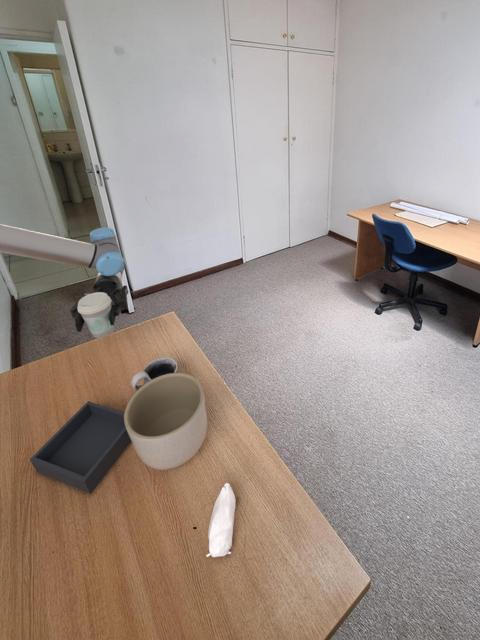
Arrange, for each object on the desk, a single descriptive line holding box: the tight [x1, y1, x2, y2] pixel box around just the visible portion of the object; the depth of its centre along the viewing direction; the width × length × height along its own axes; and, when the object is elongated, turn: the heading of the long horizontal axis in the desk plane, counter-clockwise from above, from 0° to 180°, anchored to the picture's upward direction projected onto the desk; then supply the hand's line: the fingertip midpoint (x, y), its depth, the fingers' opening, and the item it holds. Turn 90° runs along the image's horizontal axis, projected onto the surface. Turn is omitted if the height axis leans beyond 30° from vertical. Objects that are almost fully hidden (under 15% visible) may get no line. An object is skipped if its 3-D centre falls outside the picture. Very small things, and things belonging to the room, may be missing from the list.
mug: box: [130, 357, 179, 392], centre depth 93 cm, size 10×12×10 cm
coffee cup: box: [77, 292, 115, 339], centre depth 96 cm, size 8×8×12 cm
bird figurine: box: [205, 482, 237, 558], centre depth 65 cm, size 5×7×10 cm
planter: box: [124, 372, 208, 471], centre depth 78 cm, size 17×17×15 cm
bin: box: [29, 400, 132, 495], centre depth 79 cm, size 16×16×5 cm
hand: (94, 324), depth 92 cm, fingers closed on coffee cup, 8 cm apart
